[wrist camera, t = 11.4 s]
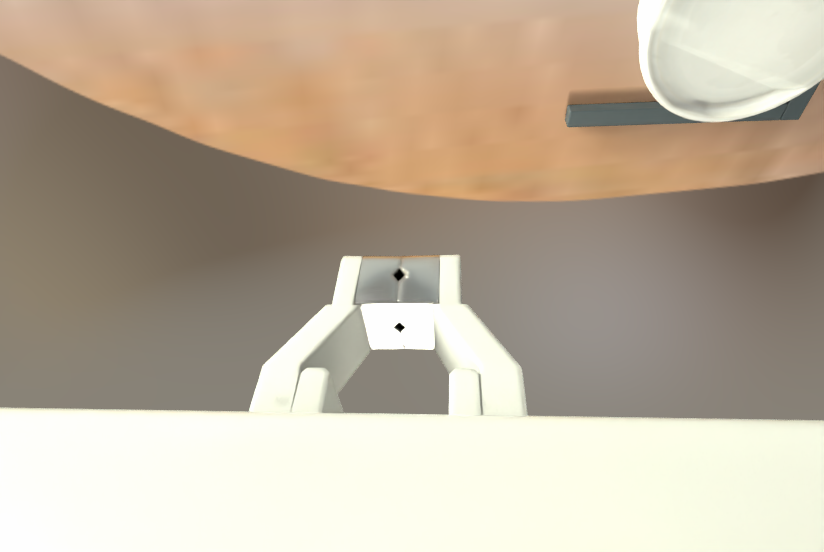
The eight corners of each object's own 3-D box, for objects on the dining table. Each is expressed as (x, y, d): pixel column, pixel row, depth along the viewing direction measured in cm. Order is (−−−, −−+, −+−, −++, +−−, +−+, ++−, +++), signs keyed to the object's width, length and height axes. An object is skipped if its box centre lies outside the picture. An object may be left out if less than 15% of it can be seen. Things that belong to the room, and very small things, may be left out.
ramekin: (616, 100, 33) (638, 142, 29) (622, -97, 25) (652, -72, 21) (805, 58, 30) (854, 98, 26) (878, -178, 22) (961, -165, 19)
